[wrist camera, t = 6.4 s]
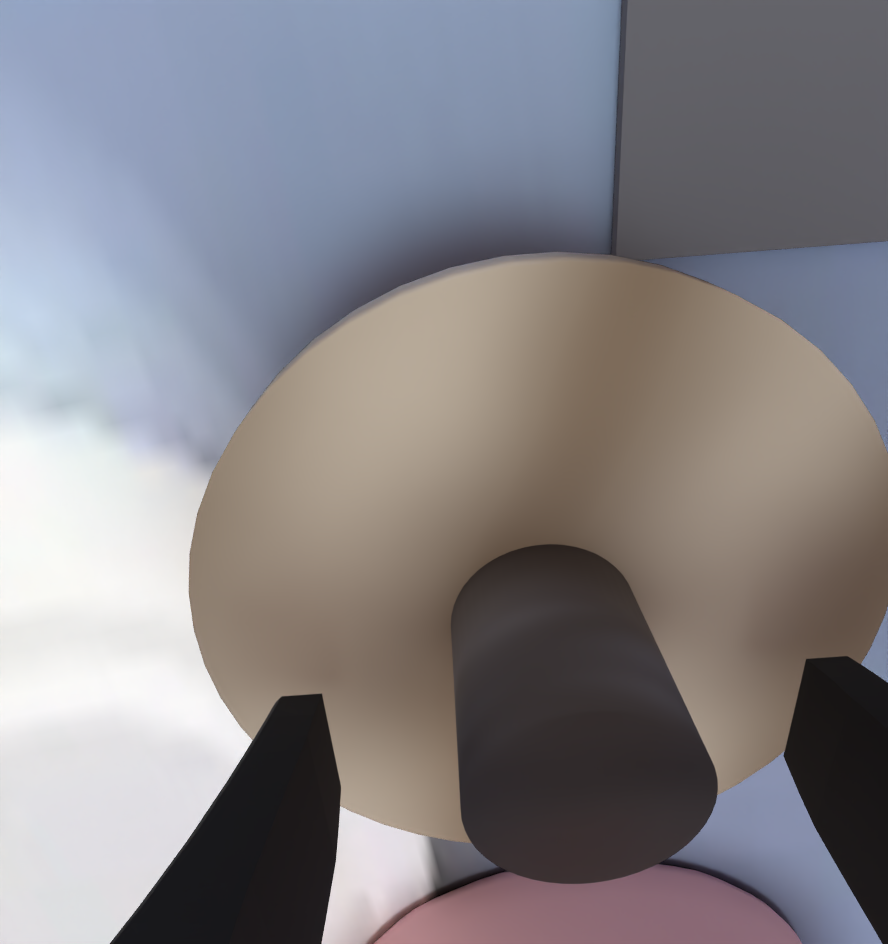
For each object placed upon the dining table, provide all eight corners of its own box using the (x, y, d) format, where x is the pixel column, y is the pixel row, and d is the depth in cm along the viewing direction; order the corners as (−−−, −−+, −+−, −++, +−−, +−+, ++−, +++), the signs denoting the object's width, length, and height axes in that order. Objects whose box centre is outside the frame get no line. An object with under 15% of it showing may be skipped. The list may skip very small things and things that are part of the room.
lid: (961, 246, 10) (1350, 315, 6) (780, 796, 15) (913, 1035, 11) (142, 256, 9) (-72, 335, 5) (255, 810, 15) (190, 1060, 11)
